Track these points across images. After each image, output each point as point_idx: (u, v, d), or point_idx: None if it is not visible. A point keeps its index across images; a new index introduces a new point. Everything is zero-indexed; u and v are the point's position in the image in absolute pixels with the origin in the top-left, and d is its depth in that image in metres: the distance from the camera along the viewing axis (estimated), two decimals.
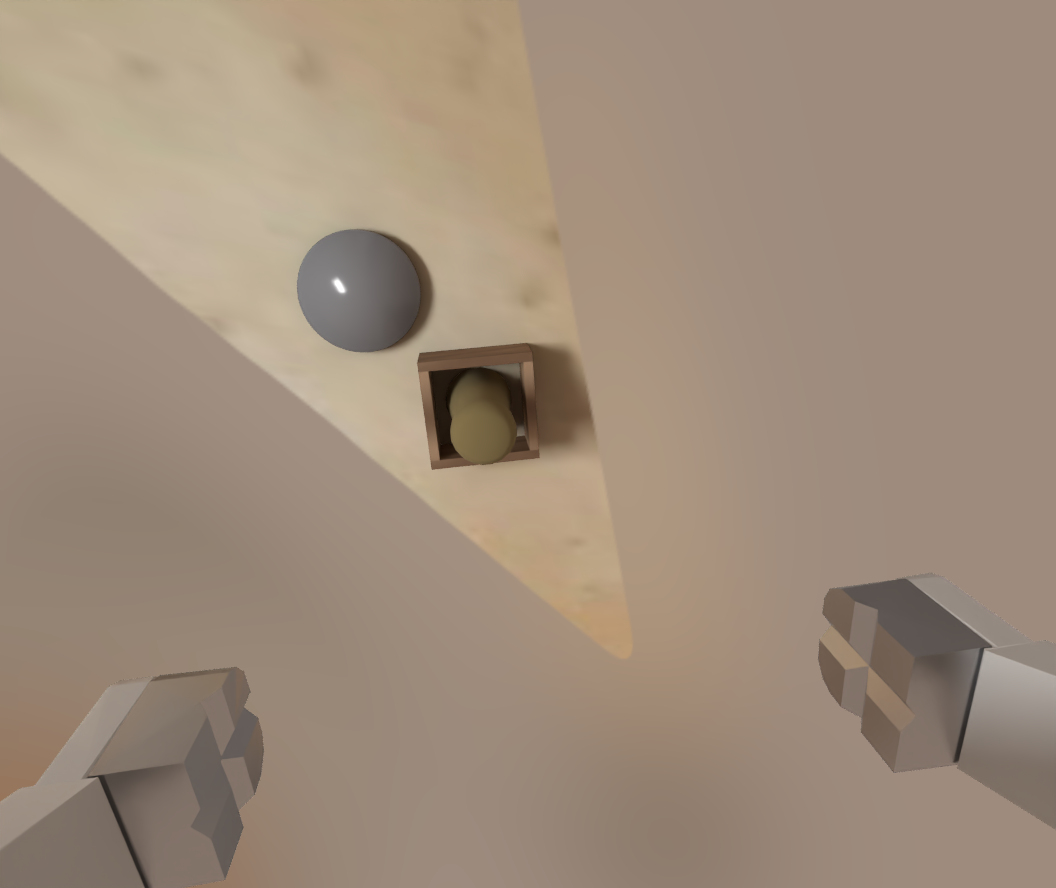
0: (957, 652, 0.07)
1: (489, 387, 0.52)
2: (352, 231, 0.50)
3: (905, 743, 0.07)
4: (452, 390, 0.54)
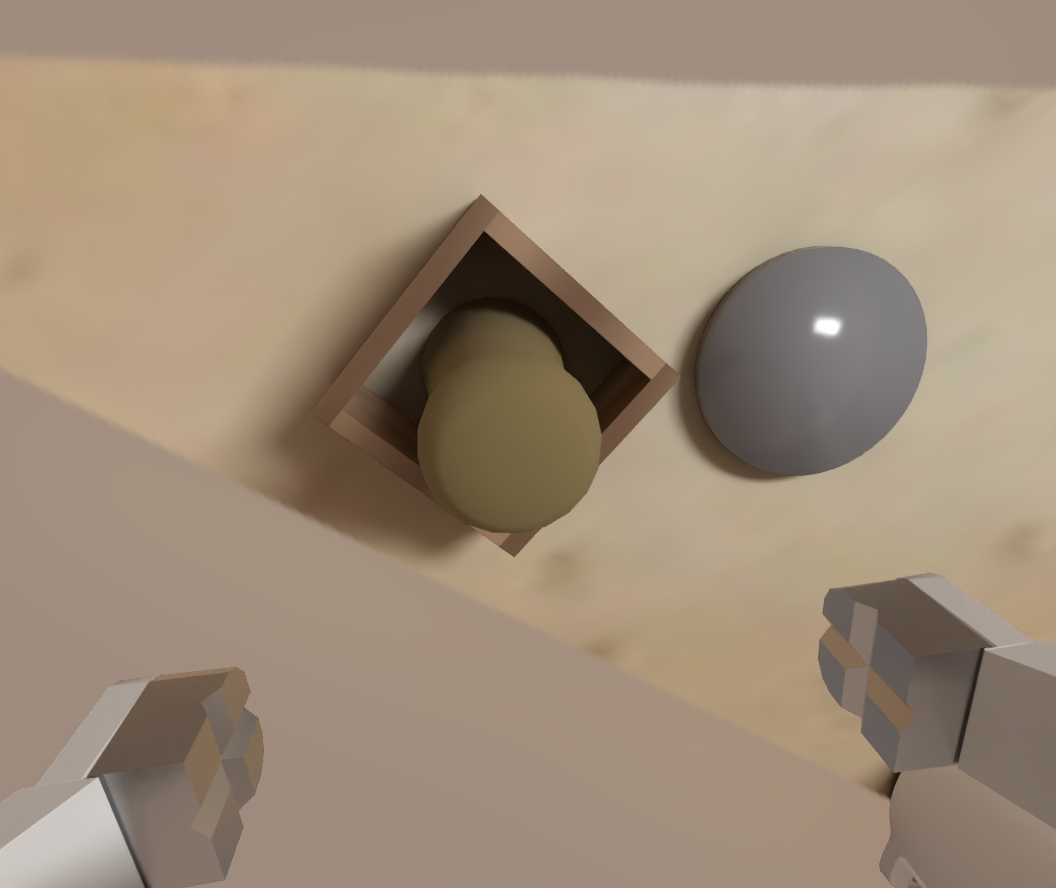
0: (957, 652, 0.07)
1: None
2: (877, 439, 0.28)
3: (906, 744, 0.07)
4: (562, 361, 0.25)
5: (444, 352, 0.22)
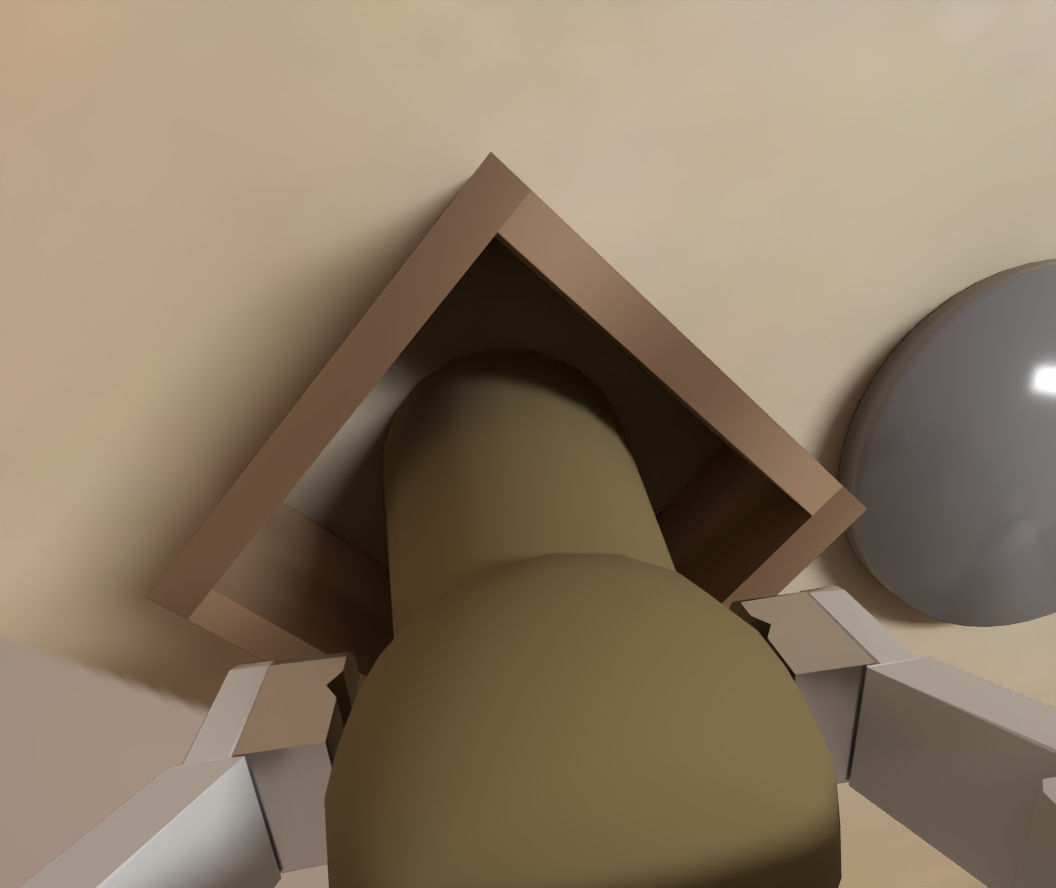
0: (840, 669, 0.07)
1: None
2: None
3: None
4: None
5: (415, 477, 0.11)
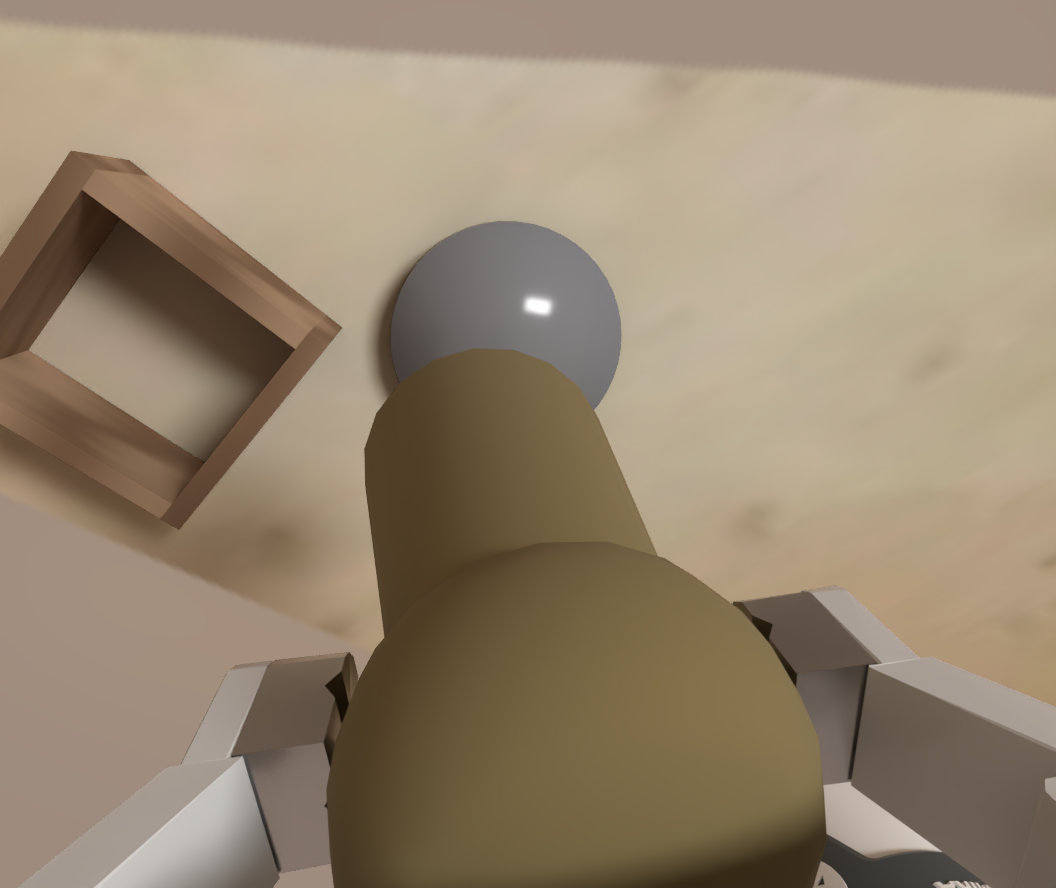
0: (842, 669, 0.07)
1: None
2: None
3: None
4: None
5: (400, 475, 0.11)
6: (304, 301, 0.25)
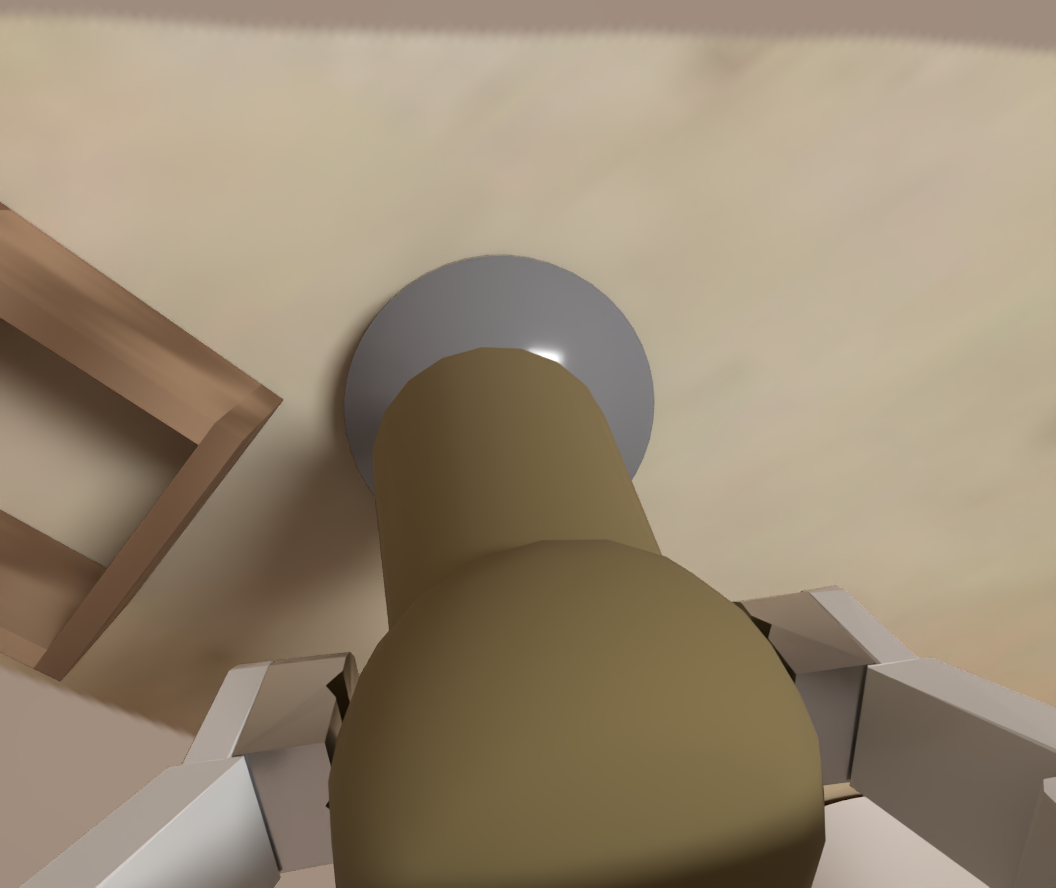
0: (841, 669, 0.07)
1: None
2: None
3: None
4: None
5: (407, 473, 0.11)
6: (228, 369, 0.19)
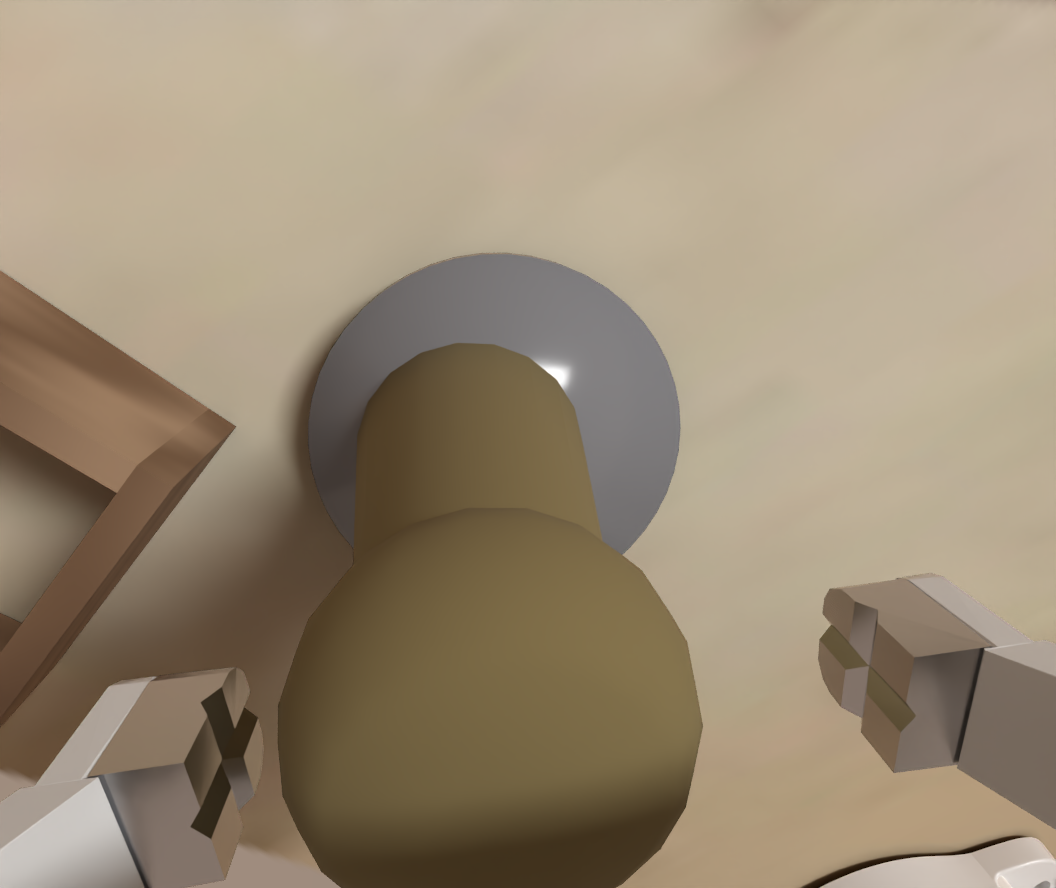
0: (957, 652, 0.07)
1: None
2: (621, 550, 0.18)
3: (906, 743, 0.07)
4: (583, 449, 0.15)
5: (377, 455, 0.12)
6: (166, 391, 0.16)
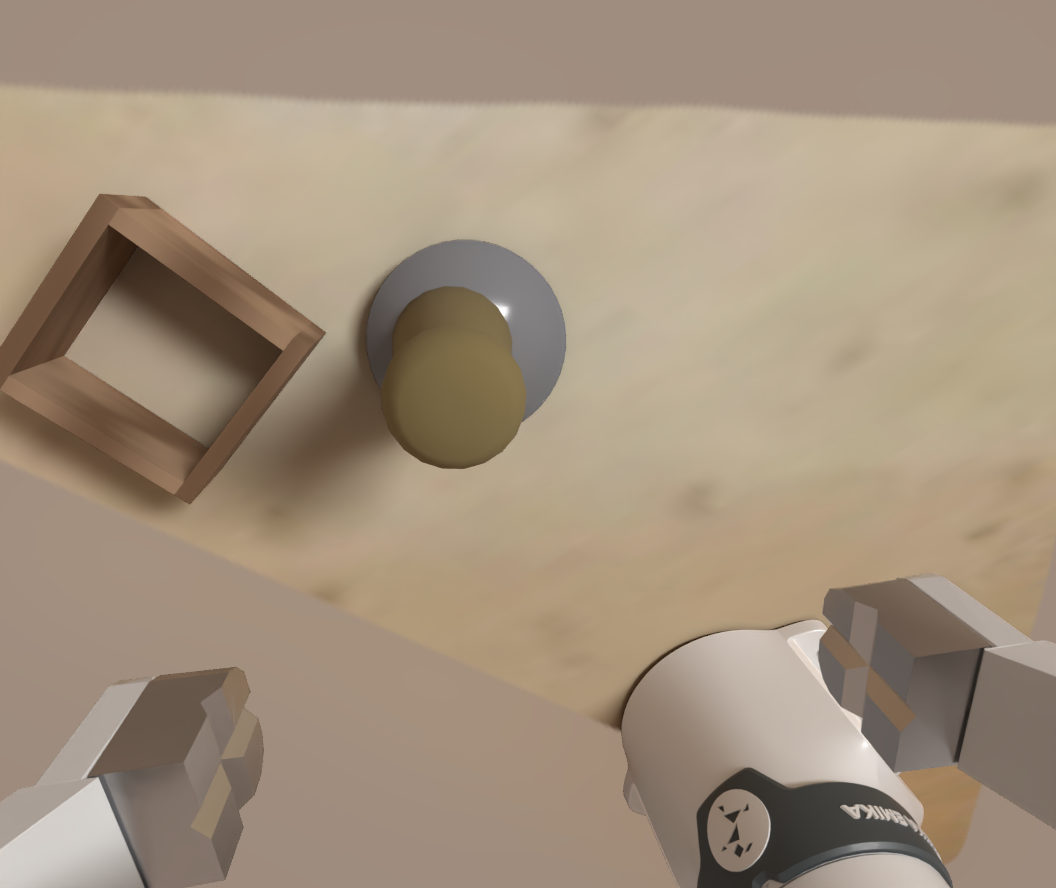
0: (957, 652, 0.07)
1: None
2: (536, 406, 0.33)
3: (906, 744, 0.07)
4: (508, 339, 0.29)
5: (407, 330, 0.26)
6: (293, 311, 0.30)
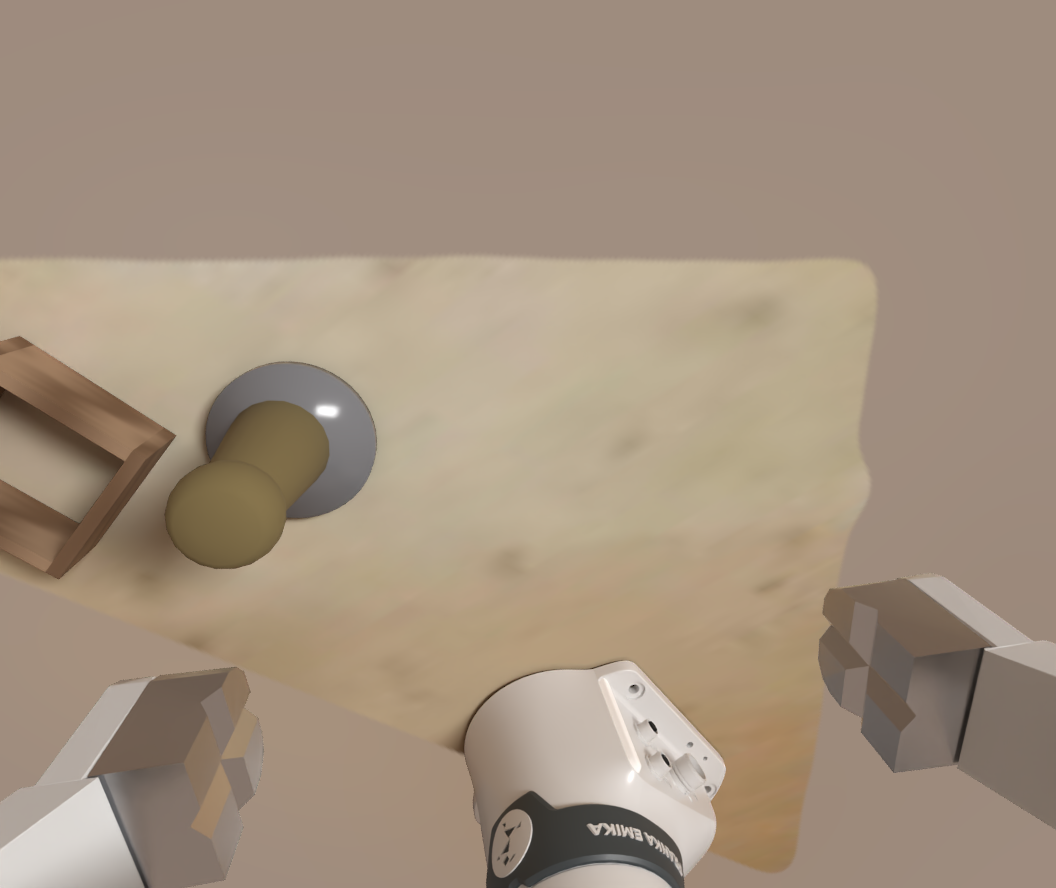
0: (957, 652, 0.07)
1: None
2: (355, 492, 0.40)
3: (906, 744, 0.07)
4: (316, 445, 0.36)
5: (218, 447, 0.33)
6: (145, 420, 0.37)
